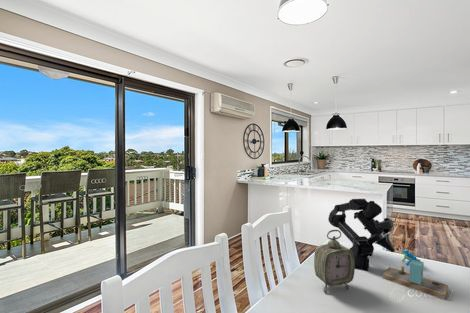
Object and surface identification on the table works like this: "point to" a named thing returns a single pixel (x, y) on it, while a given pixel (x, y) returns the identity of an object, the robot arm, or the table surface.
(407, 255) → the blue irregular piece
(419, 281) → the block
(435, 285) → the board
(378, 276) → the table surface
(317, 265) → the tabletop clock
